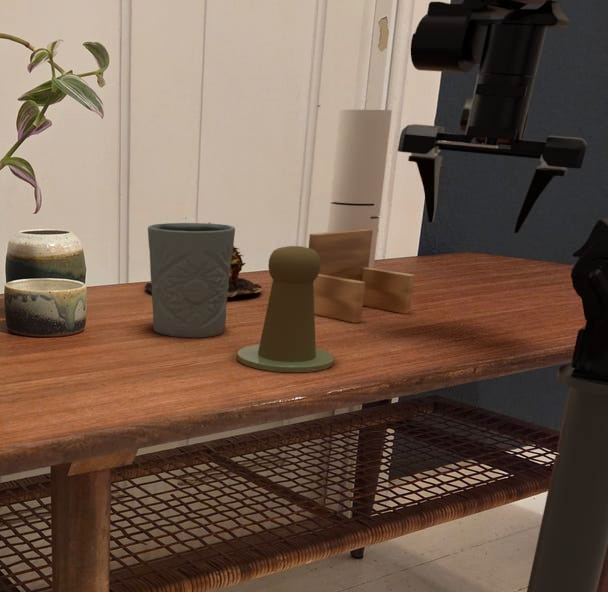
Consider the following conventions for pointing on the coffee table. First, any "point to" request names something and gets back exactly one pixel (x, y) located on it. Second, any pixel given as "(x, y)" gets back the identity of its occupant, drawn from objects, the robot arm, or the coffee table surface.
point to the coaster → (256, 361)
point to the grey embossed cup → (190, 277)
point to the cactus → (234, 278)
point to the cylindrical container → (359, 172)
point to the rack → (355, 278)
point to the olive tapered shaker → (291, 306)
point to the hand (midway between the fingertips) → (472, 227)
